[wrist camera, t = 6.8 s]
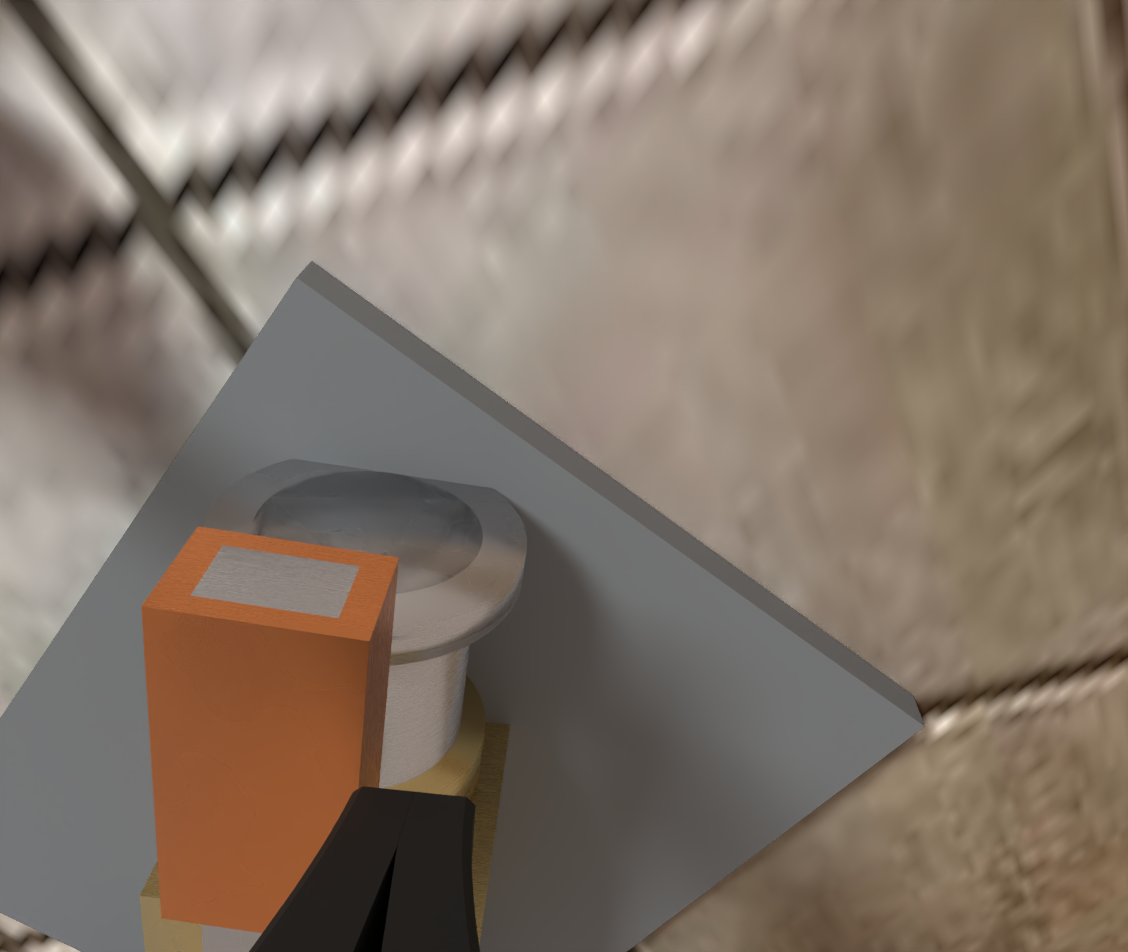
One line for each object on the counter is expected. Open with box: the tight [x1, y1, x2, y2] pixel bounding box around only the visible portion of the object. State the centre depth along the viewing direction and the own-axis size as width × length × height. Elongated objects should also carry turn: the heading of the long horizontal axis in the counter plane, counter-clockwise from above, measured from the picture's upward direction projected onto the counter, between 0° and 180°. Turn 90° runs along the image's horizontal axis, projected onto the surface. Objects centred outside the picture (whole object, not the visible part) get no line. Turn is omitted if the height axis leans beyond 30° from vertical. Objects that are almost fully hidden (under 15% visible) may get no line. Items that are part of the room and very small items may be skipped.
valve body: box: [140, 459, 527, 952], centre depth 21 cm, size 18×6×8 cm, turn 172°
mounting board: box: [0, 261, 925, 952], centre depth 24 cm, size 20×16×1 cm
